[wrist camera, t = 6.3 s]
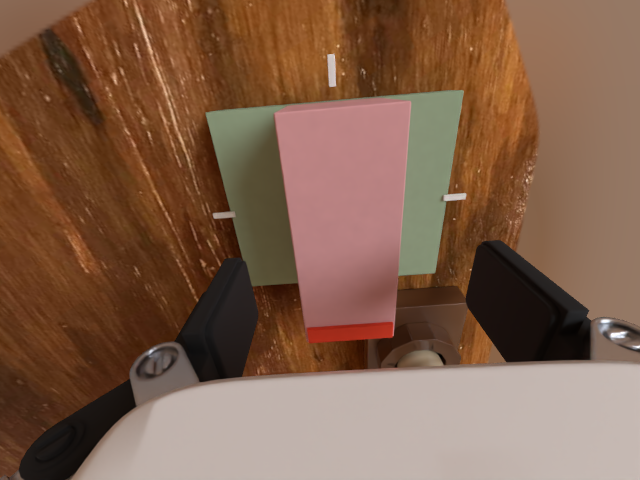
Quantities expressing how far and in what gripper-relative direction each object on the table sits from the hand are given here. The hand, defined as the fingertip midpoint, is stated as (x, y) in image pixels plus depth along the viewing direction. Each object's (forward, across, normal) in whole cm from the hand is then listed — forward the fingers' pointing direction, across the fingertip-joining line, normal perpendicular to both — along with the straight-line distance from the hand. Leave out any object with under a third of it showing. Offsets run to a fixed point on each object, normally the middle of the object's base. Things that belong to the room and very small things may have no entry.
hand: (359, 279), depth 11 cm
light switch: (+10, -6, +14) cm, 18 cm away
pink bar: (+7, 0, 0) cm, 7 cm away
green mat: (+9, 0, 0) cm, 9 cm away
